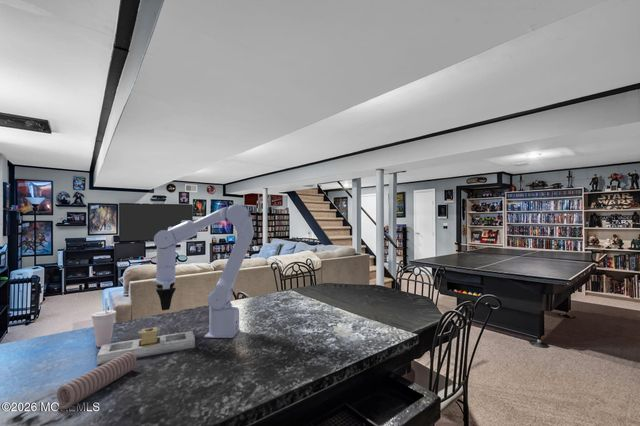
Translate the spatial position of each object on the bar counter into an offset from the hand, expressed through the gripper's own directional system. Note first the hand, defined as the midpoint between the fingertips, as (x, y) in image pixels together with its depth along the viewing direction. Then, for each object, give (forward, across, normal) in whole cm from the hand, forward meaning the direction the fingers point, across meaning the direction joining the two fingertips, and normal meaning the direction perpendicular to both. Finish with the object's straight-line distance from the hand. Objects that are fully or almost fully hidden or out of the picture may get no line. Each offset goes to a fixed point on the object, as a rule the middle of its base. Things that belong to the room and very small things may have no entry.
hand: (165, 307), depth 102 cm
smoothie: (+10, -1, -17) cm, 20 cm away
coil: (+10, +29, -14) cm, 34 cm away
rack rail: (+9, +11, -4) cm, 15 cm away
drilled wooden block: (+10, +11, -4) cm, 15 cm away
